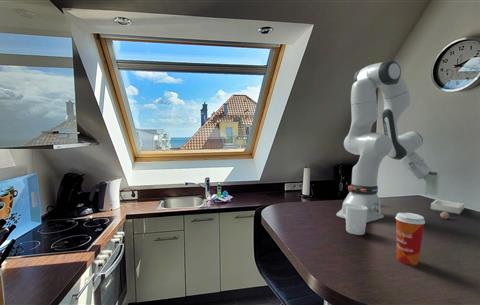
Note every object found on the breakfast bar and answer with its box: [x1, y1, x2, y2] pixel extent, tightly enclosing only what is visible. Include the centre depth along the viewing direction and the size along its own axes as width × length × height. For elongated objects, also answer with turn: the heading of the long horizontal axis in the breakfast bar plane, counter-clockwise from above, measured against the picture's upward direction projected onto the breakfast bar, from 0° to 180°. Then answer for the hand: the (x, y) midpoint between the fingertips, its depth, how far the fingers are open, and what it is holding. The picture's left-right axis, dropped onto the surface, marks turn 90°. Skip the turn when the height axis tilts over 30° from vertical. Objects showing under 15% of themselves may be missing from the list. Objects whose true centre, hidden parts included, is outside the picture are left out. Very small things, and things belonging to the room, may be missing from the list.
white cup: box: [345, 204, 368, 236], centre depth 106 cm, size 8×8×10 cm
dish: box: [430, 198, 465, 215], centre depth 143 cm, size 14×12×3 cm
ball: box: [440, 211, 450, 220], centre depth 126 cm, size 3×3×3 cm
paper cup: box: [395, 212, 426, 266], centre depth 82 cm, size 8×8×14 cm
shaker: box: [424, 171, 440, 196], centre depth 137 cm, size 4×4×11 cm
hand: (433, 183), depth 136 cm, fingers closed on shaker, 4 cm apart
